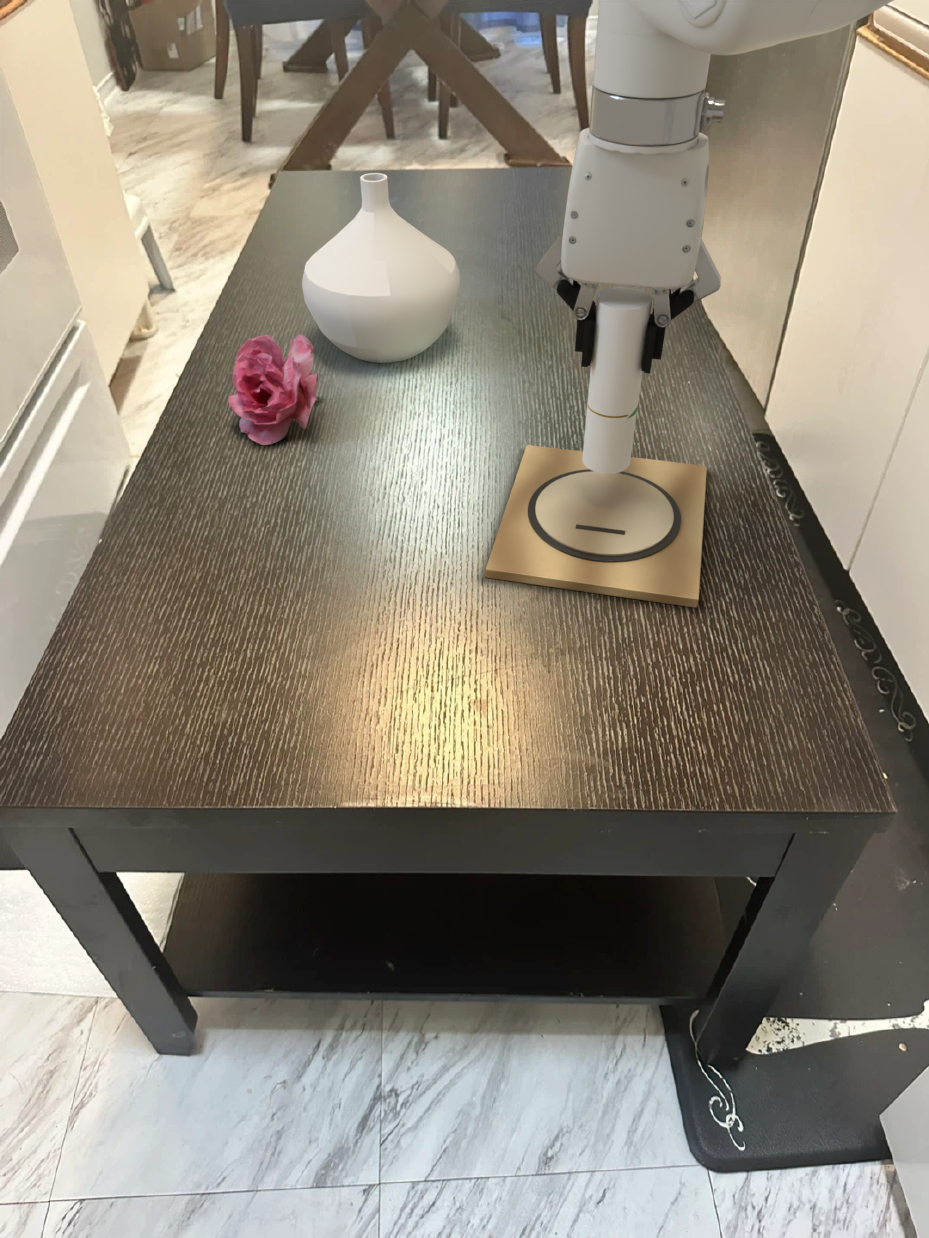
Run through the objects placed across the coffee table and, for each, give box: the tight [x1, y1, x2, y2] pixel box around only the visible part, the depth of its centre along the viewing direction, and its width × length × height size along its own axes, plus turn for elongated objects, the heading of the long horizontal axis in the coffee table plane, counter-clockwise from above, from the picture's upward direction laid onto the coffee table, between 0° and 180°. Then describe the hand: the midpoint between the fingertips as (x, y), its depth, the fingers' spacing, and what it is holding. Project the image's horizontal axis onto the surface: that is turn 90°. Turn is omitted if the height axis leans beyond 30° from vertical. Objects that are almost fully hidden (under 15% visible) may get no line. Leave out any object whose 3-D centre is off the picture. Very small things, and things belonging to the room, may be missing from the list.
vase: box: [301, 172, 461, 364], centre depth 102 cm, size 18×18×19 cm
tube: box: [582, 286, 653, 474], centre depth 75 cm, size 4×4×15 cm
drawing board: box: [485, 444, 708, 609], centre depth 82 cm, size 18×20×2 cm
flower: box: [227, 333, 319, 446], centre depth 93 cm, size 11×10×10 cm
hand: (617, 360), depth 73 cm, fingers closed on tube, 4 cm apart
